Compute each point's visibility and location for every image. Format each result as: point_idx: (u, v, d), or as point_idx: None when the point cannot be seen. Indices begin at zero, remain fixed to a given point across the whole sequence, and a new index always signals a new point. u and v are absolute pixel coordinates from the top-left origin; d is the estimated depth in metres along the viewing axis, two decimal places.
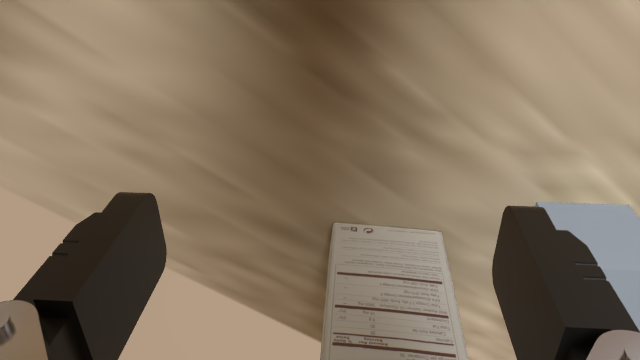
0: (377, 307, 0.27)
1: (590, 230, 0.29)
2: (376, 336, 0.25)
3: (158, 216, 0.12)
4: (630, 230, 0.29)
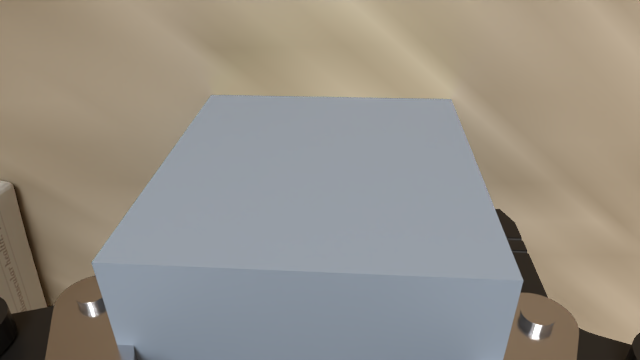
0: None
1: (293, 151, 0.09)
2: None
3: None
4: (418, 150, 0.09)
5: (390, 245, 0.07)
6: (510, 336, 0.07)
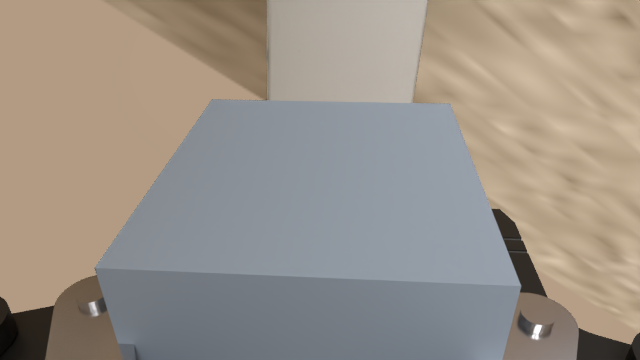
0: None
1: (293, 156, 0.09)
2: None
3: None
4: (417, 155, 0.09)
5: (390, 250, 0.07)
6: (510, 336, 0.07)
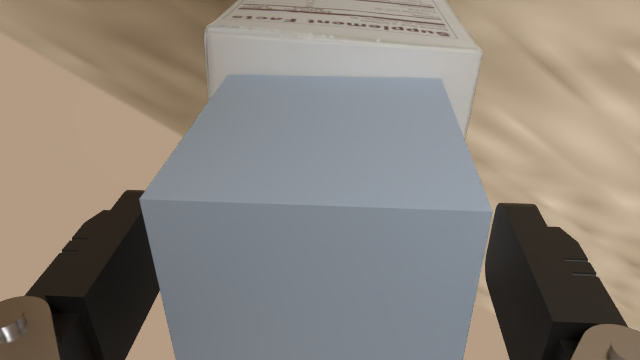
0: None
1: (302, 119, 0.11)
2: (314, 8, 0.15)
3: None
4: (410, 118, 0.11)
5: (385, 187, 0.08)
6: None
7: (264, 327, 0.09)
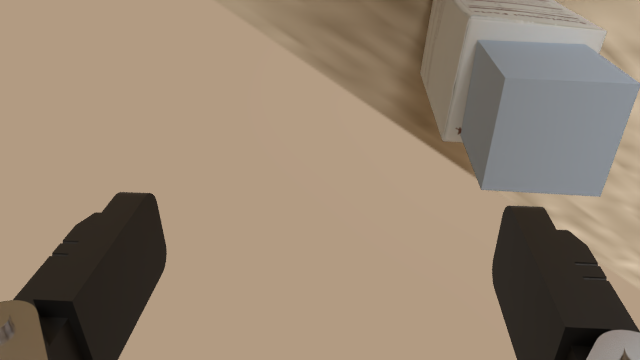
0: (499, 1, 0.30)
1: (537, 57, 0.24)
2: (505, 8, 0.28)
3: (158, 216, 0.12)
4: (585, 58, 0.24)
5: (595, 77, 0.21)
6: None
7: (534, 139, 0.22)
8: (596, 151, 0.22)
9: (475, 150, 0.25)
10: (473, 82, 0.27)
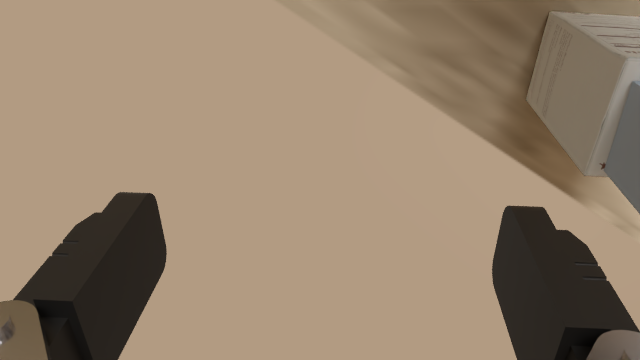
0: (634, 36, 0.31)
1: None
2: None
3: (158, 216, 0.12)
4: None
5: None
6: None
7: None
8: None
9: (637, 190, 0.26)
10: (627, 122, 0.27)
